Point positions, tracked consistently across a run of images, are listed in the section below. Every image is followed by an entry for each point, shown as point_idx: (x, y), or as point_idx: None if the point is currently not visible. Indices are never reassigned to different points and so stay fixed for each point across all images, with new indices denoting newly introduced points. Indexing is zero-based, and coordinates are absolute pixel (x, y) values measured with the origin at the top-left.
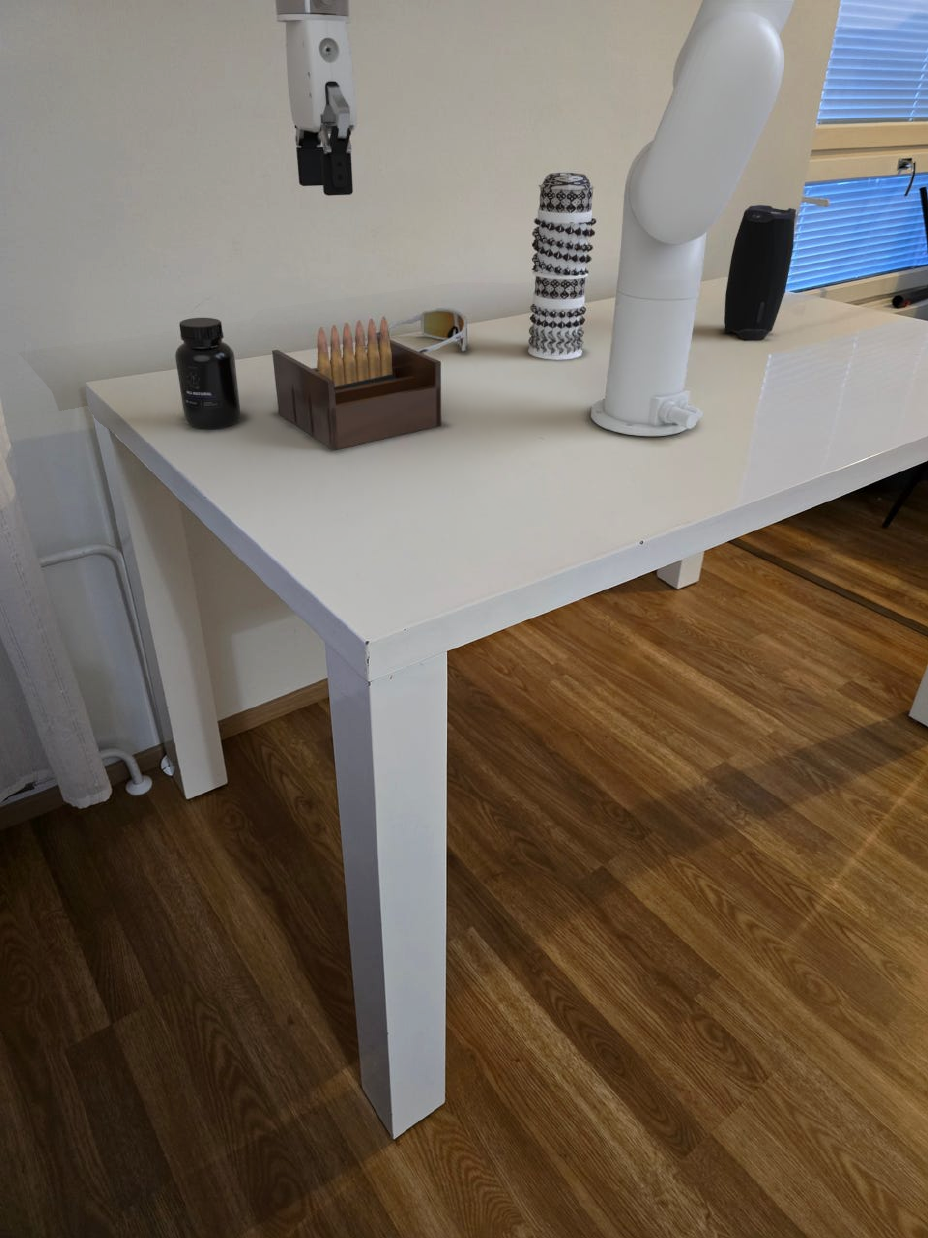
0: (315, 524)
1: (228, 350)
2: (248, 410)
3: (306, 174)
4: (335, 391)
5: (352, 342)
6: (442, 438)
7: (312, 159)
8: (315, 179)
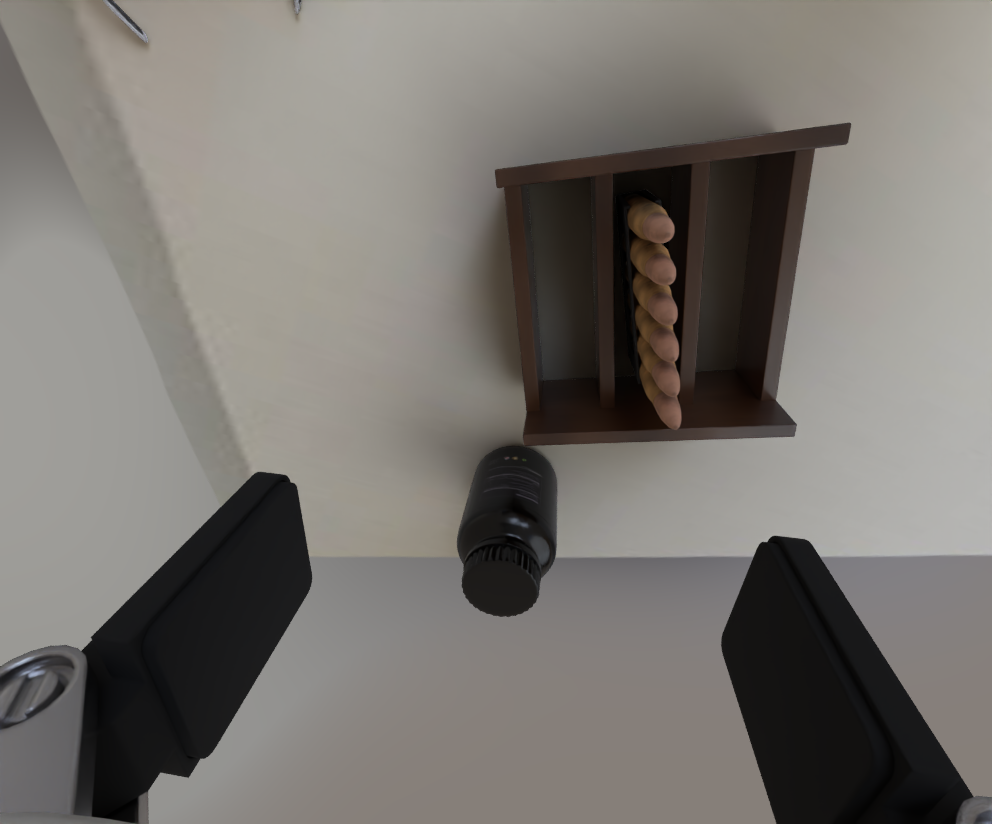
0: (964, 493)
1: (533, 526)
2: (492, 423)
3: (285, 601)
4: (689, 365)
5: (673, 334)
6: (839, 167)
7: (228, 639)
8: (290, 542)
